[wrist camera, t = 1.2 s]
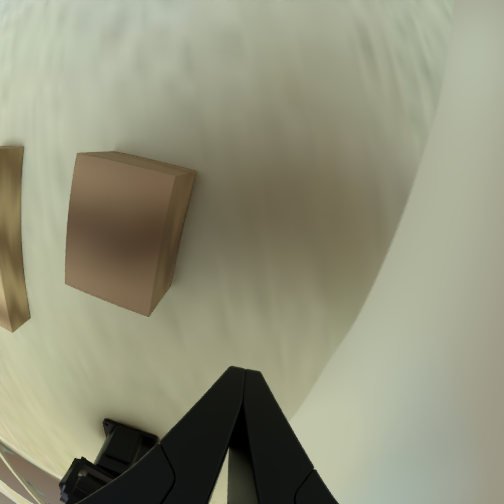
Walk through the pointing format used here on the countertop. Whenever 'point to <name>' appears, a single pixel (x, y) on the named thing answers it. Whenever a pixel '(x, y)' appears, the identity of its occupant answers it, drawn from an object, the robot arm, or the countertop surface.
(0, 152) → the tan rectangular bar
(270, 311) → the countertop surface
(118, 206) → the block
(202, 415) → the robot arm
